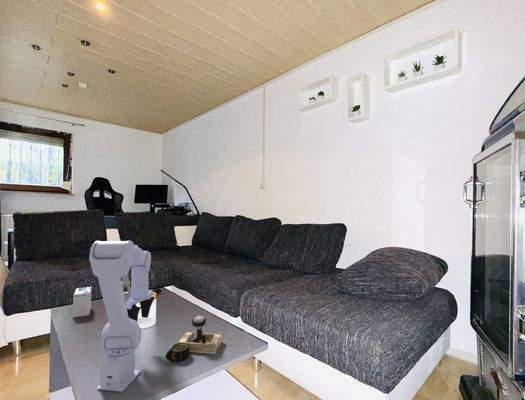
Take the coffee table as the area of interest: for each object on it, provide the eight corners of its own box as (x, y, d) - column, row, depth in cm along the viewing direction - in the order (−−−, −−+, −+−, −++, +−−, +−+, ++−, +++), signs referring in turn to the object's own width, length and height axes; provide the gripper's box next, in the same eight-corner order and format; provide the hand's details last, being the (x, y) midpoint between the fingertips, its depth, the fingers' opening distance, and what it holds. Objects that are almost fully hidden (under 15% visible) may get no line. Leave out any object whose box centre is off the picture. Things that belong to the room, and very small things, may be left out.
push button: (194, 351, 100) (194, 323, 100) (185, 345, 103) (185, 318, 103) (208, 343, 105) (209, 317, 105) (199, 339, 108) (200, 313, 108)
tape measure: (174, 351, 101) (174, 341, 101) (192, 353, 99) (192, 342, 99) (164, 362, 94) (165, 351, 94) (183, 364, 93) (184, 353, 93)
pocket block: (215, 353, 99) (215, 345, 99) (177, 350, 101) (177, 342, 101) (221, 341, 107) (221, 334, 108) (186, 339, 109) (187, 331, 109)
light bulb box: (75, 309, 137) (75, 288, 137) (91, 307, 140) (91, 286, 141) (72, 318, 128) (72, 294, 128) (89, 315, 131) (90, 292, 131)
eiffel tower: (110, 313, 134) (111, 251, 134) (110, 304, 146) (111, 246, 146) (140, 308, 141) (141, 249, 141) (138, 300, 152) (138, 245, 152)
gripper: (138, 290, 93) (138, 331, 93) (160, 279, 108) (159, 314, 107) (119, 289, 94) (118, 330, 94) (142, 278, 108) (142, 313, 108)
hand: (139, 321), depth 101 cm, fingers open, 7 cm apart
